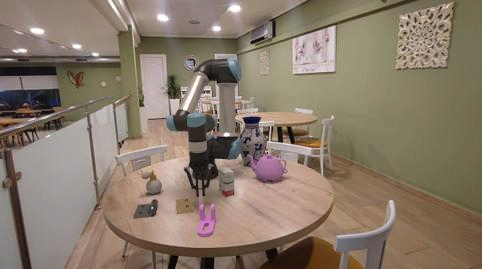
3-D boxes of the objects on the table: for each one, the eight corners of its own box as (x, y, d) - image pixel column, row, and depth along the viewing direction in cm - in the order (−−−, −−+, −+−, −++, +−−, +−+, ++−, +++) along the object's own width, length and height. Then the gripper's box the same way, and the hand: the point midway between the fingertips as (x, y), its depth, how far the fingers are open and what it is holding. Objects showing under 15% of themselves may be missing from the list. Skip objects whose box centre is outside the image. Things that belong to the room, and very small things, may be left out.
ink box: (234, 195, 131) (234, 171, 129) (225, 197, 129) (224, 172, 127) (227, 188, 139) (226, 166, 137) (218, 190, 137) (217, 167, 134)
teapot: (245, 183, 145) (245, 158, 142) (248, 173, 160) (248, 150, 158) (288, 184, 142) (288, 158, 140) (287, 174, 158) (287, 150, 155)
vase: (241, 170, 167) (239, 120, 161) (235, 161, 185) (233, 116, 179) (271, 167, 171) (271, 118, 165) (262, 158, 189) (262, 115, 183)
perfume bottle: (164, 189, 140) (162, 167, 137) (157, 197, 130) (154, 173, 128) (150, 189, 140) (148, 166, 138) (141, 197, 131) (139, 173, 129)
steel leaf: (158, 205, 122) (157, 199, 122) (155, 216, 113) (154, 209, 112) (138, 207, 121) (137, 200, 120) (133, 218, 111) (132, 211, 111)
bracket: (201, 219, 110) (200, 202, 108) (215, 218, 110) (215, 202, 108) (196, 237, 97) (195, 219, 96) (212, 237, 97) (211, 218, 96)
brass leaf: (192, 203, 125) (191, 197, 124) (193, 213, 115) (193, 206, 115) (176, 205, 123) (175, 199, 123) (176, 215, 114) (176, 209, 113)
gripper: (213, 147, 120) (215, 198, 125) (182, 149, 118) (186, 201, 123) (214, 151, 113) (216, 205, 118) (181, 153, 111) (185, 208, 115)
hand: (201, 203), depth 120 cm, fingers closed
